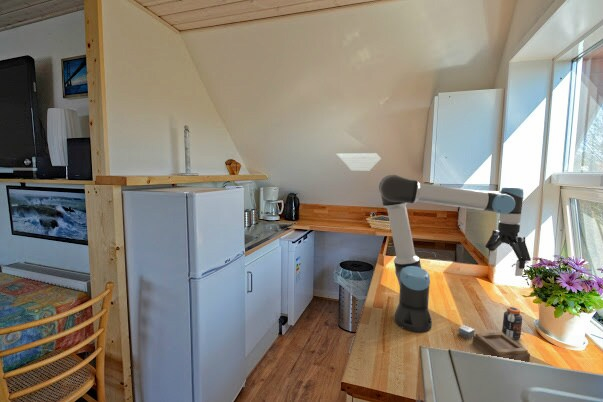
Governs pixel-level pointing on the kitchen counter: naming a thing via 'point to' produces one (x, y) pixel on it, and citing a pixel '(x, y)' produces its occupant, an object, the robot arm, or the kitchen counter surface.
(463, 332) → the block
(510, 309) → the pill bottle
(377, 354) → the kitchen counter surface
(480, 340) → the stand
